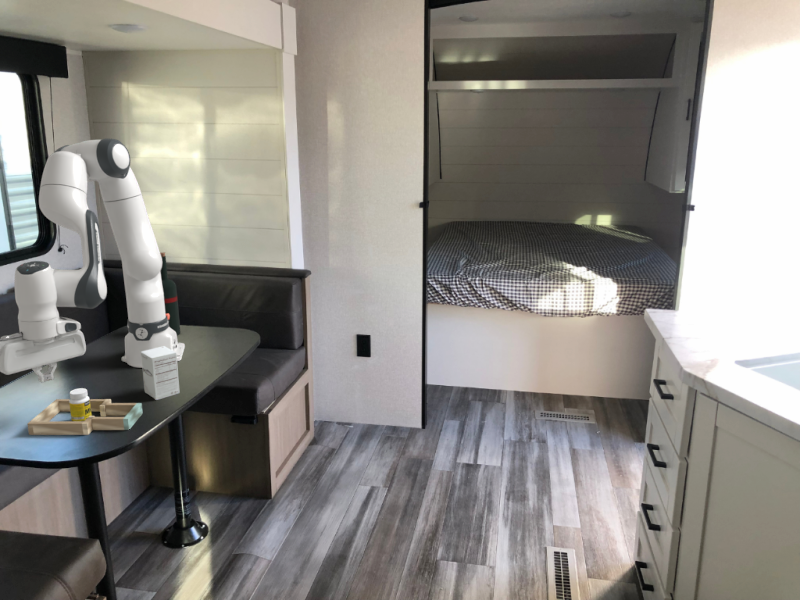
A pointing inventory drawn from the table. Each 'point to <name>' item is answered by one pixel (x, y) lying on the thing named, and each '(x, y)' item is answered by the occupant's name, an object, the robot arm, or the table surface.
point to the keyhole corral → (106, 408)
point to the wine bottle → (170, 297)
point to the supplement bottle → (79, 404)
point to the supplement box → (160, 372)
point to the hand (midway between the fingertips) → (46, 380)
